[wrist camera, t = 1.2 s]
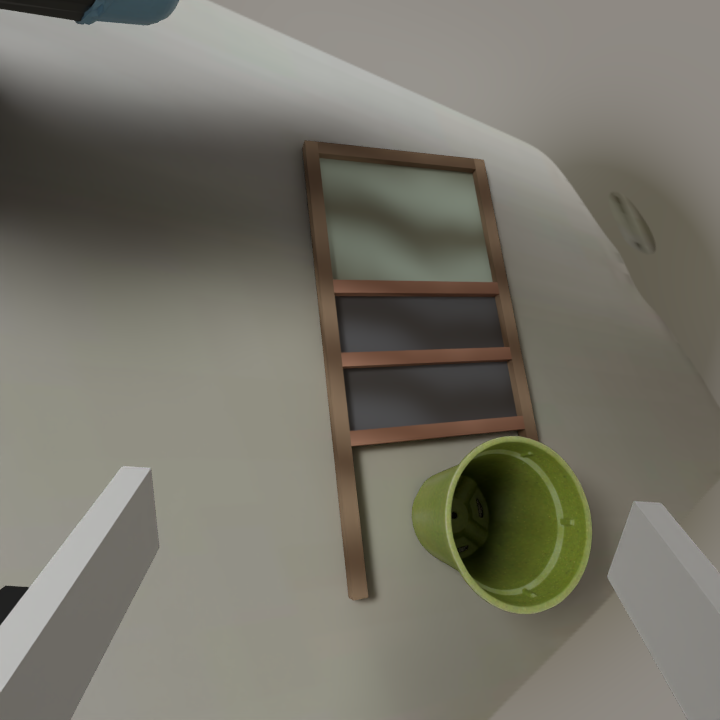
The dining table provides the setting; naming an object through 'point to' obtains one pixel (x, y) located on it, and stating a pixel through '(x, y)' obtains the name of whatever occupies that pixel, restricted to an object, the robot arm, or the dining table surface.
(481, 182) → the frame
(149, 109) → the dining table surface
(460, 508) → the plant pot
